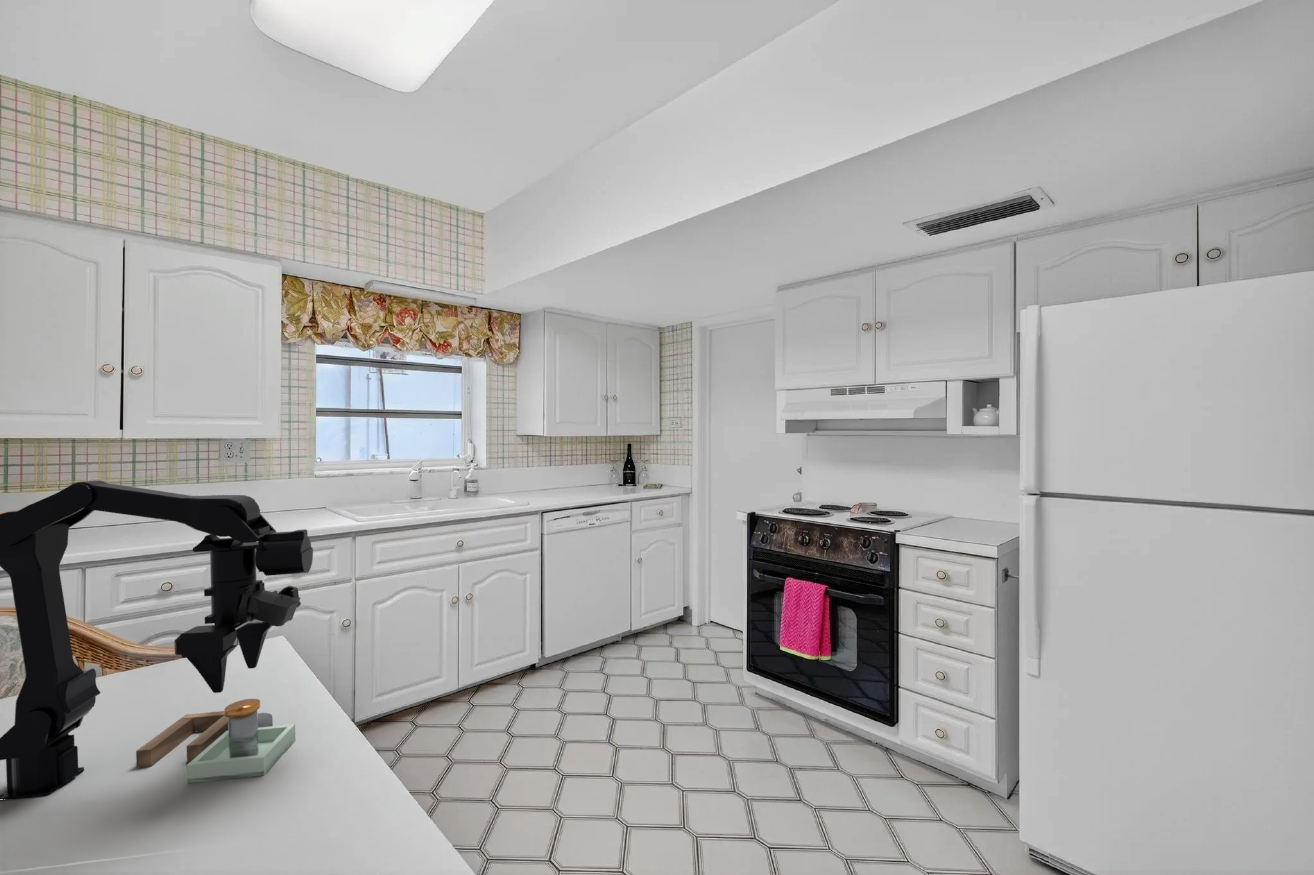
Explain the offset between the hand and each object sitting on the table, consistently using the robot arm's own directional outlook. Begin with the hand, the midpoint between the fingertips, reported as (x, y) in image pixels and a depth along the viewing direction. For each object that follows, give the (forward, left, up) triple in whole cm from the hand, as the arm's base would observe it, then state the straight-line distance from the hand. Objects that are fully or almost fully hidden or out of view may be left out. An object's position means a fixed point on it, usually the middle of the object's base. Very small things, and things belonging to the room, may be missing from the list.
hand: (236, 679), depth 91 cm
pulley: (-1, +6, -12) cm, 13 cm away
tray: (+2, -2, -12) cm, 12 cm away
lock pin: (+2, -2, -11) cm, 11 cm away
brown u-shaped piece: (-9, +5, -12) cm, 16 cm away
